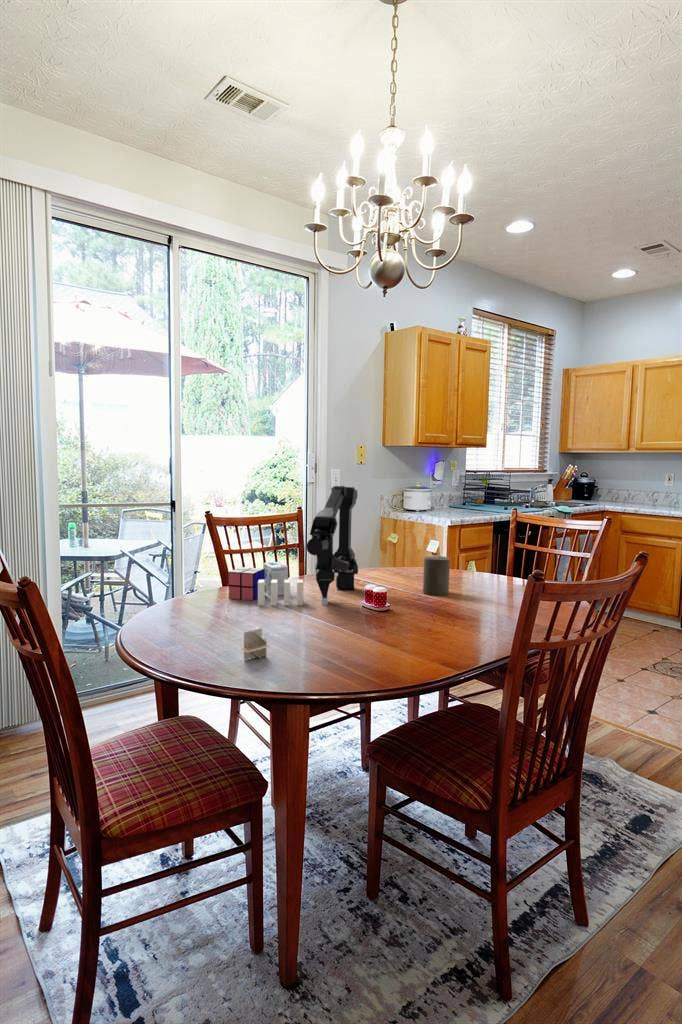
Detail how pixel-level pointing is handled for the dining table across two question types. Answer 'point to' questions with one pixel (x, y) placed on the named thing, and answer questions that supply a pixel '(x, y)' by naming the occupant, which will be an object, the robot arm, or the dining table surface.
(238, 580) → the puzzle cube
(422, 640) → the dining table surface
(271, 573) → the light bulb box
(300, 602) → the domino
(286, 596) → the domino
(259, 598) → the domino
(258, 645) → the architectural model
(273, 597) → the domino
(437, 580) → the dark grey cylinder
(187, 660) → the dining table surface
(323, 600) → the domino
